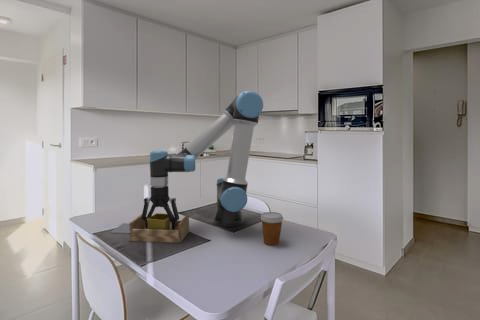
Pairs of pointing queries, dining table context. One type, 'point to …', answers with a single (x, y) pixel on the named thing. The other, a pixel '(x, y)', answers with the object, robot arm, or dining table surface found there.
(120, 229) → the mat
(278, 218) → the disposable coffee cup
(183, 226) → the crate
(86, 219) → the dining table surface
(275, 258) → the dining table surface
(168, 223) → the flower pot
